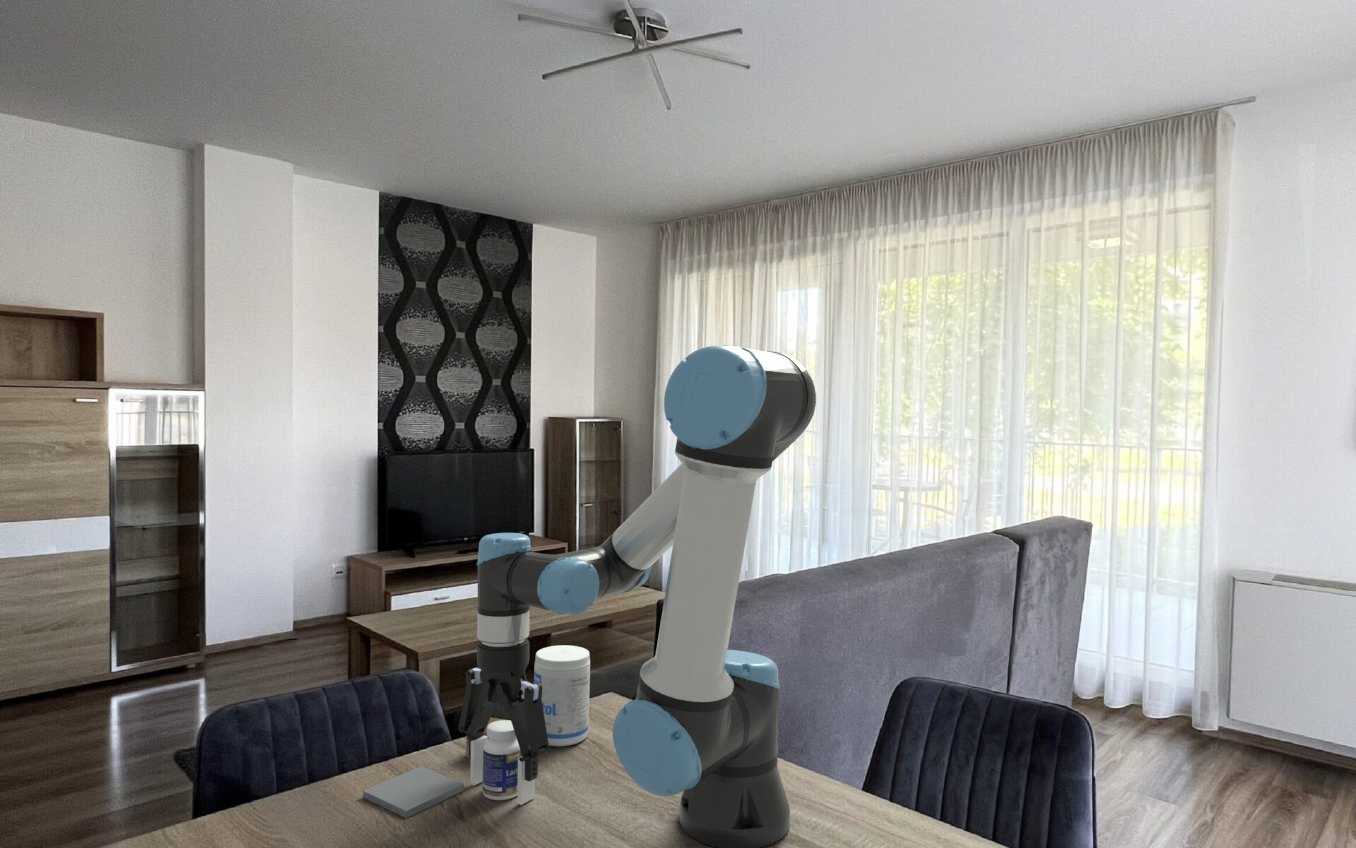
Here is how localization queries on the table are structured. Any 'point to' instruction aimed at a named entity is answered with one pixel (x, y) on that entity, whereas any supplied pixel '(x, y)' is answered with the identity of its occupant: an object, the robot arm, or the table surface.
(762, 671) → the robot arm
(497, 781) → the pill bottle
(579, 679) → the supplement tub
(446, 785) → the slate coaster
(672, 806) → the table surface
